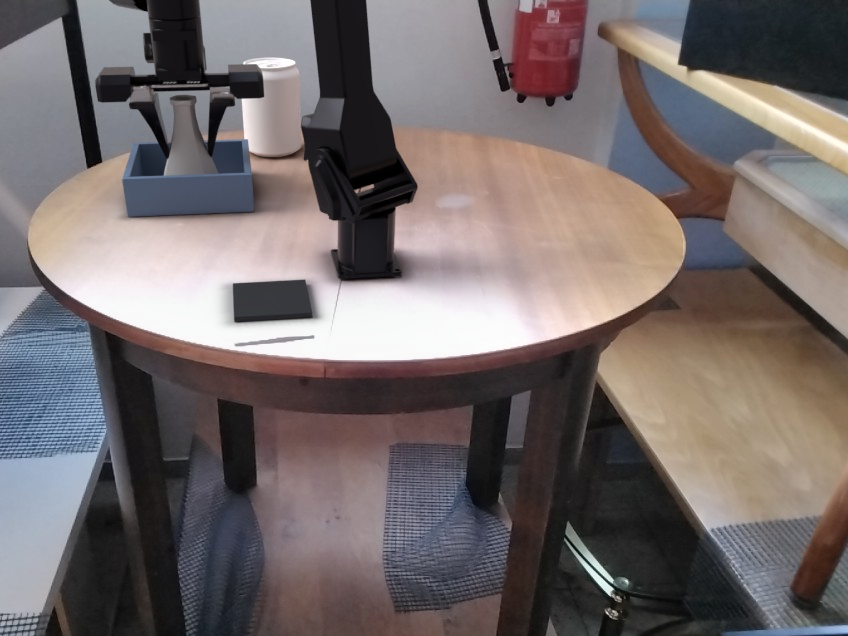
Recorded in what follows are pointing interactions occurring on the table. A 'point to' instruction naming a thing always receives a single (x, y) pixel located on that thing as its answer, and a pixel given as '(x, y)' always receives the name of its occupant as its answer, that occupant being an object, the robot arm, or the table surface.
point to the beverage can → (274, 110)
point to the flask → (187, 141)
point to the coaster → (271, 300)
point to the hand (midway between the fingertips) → (189, 157)
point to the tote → (188, 182)
